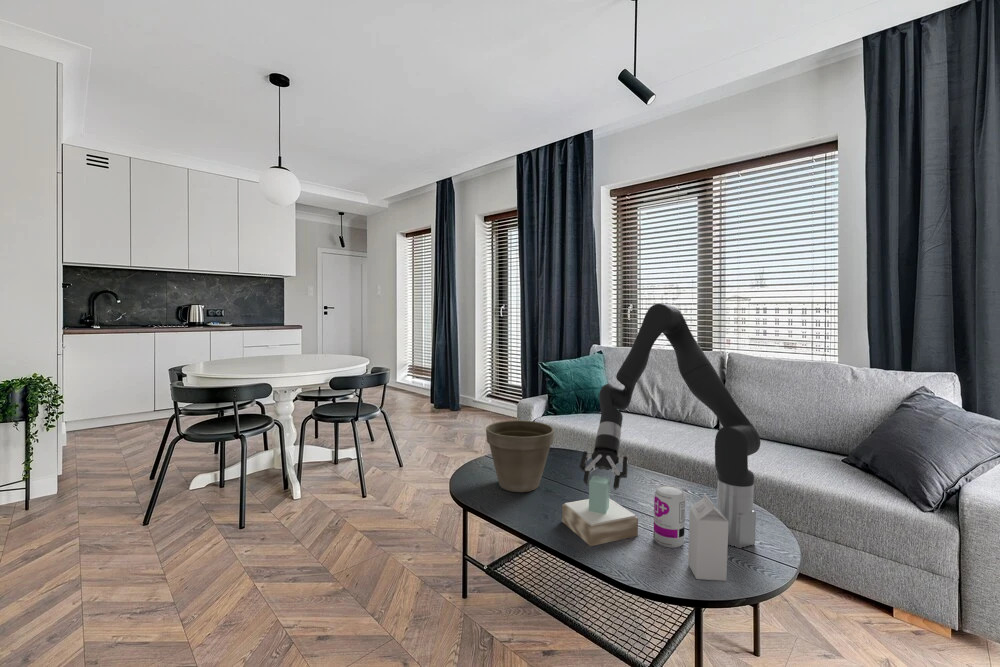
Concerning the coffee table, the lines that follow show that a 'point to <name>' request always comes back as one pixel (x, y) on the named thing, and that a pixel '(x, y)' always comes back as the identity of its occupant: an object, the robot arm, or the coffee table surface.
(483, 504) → the coffee table surface
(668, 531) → the supplement can
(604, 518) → the podium
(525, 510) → the coffee table surface
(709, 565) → the milk carton
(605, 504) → the carton
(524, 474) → the plant pot
